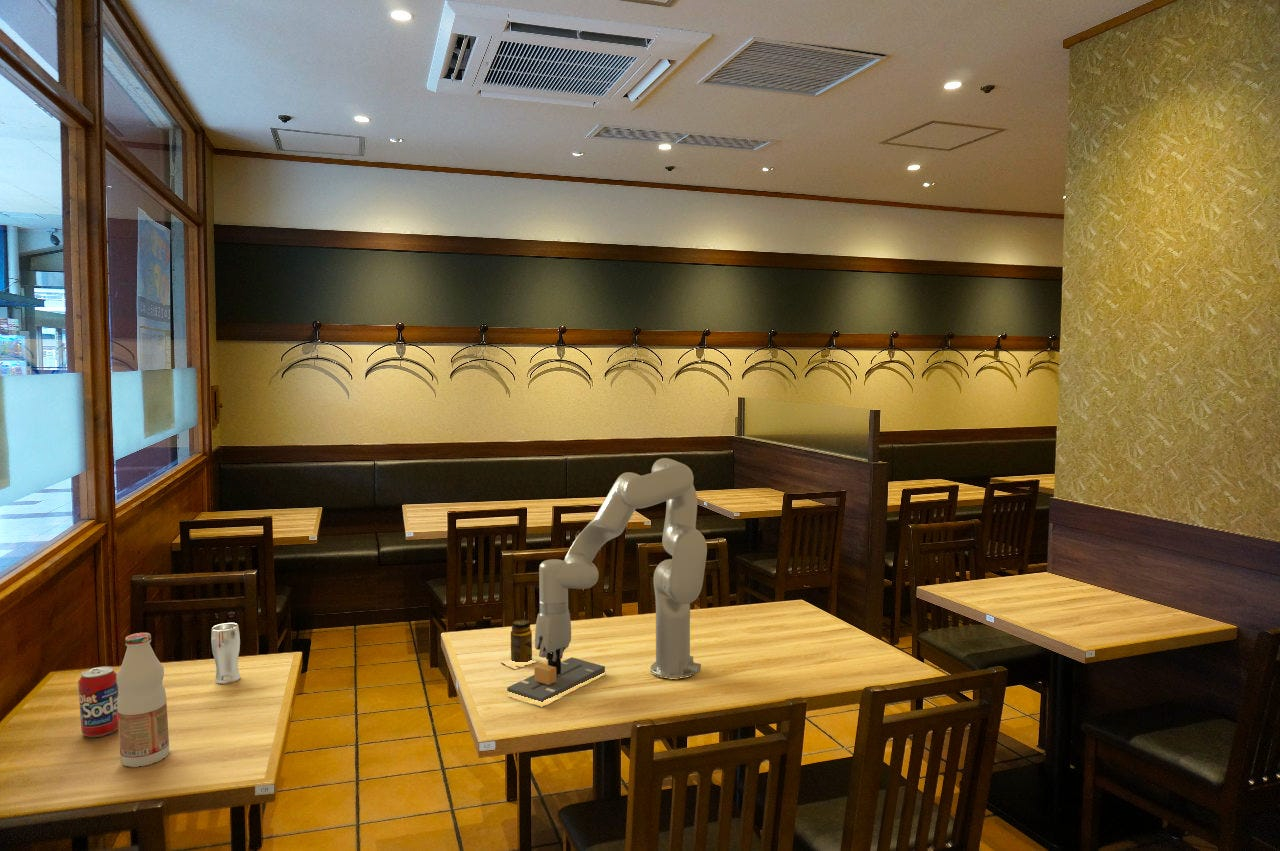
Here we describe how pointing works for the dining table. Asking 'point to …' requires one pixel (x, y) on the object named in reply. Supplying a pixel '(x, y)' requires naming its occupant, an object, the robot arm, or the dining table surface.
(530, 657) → the condiment
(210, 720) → the dining table surface
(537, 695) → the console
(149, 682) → the fruit juice
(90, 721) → the soda can
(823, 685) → the dining table surface
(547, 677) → the fader tab
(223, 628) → the beer glass
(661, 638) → the robot arm
